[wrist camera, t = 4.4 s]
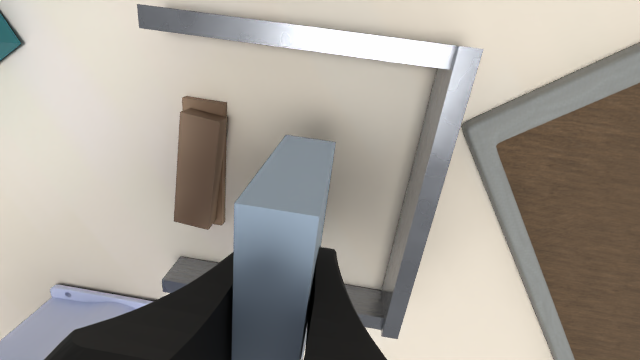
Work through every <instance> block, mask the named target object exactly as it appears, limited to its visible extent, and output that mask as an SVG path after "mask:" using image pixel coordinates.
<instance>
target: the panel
mask: <svg viewBox="0 0 640 360" xmlns="http://www.w3.org/2000/svg"><path fill="white" fill-rule="evenodd" d="M335 144H336V142H331V141H324V140H317V139H311V138H304V137H297V136H290V135H286V136H285V137H284V138H283V140H282V141H281V142H280V143H279V145H278V146H277V147H276V149H275V150H274V151H273V153H272V154H271V155H270V157H269V158H268V159H267V161H266V162H265V163H264V165H263V166H262V167H261V169H260V170H259V171H258V173H257V174H256V175H255V177H254V178H253V179H252V181H251V182H250V183H249V185H248V186H247V187H246V189H245V190H244V191H243V193H242V194H241V195H240V197H239V198H238V199H237V201H236V202H235V205H234V257H233V310H232V360H303V356H304V350H305V344H306V335H307V322H308V315H309V308H310V301H311V294H312V287H313V280H314V273H315V266H316V260H317V255H318V250H319V247H321V240H322V233H323V226H324V220H325V213H326V206H327V199H328V192H329V185H330V178H331V171H332V165H333V158H334V151H335Z"/></svg>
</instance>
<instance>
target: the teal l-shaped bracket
mask: <svg viewBox="0 0 640 360" xmlns="http://www.w3.org/2000/svg"><path fill="white" fill-rule="evenodd" d="M20 44H21V42H20V41H19V40H18V38H17V37H16V35H15V34H14V32H13V31H12V29H11V28H10V26H9V25H8V23H7V22H6V20H5V19H4V17H3V16H2V15H1V13H0V60H1V59H3V58H4V57H5V56H7V55H8V54H9V53H10V52H12V51H13V50H14V49H15V48H17V47H18V46H19V45H20Z"/></svg>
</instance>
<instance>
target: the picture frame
mask: <svg viewBox="0 0 640 360" xmlns="http://www.w3.org/2000/svg"><path fill="white" fill-rule="evenodd" d="M462 130H463V133H464V136H465V138H466V141H467V144H468V146H469V149H470V151H471V154H472V156H473V159H474V161H475V164H476V166H477V169H478V171H479V174H480V176H481V179H482V181H483V184H484V186H485V189H486V191H487V194H488V196H489V199H490V201H491V204H492V206H493V209H494V211H495V214H496V216H497V219H498V221H499V224H500V226H501V229H502V231H503V234H504V236H505V239H506V241H507V244H508V246H509V249H510V251H511V254H512V256H513V259H514V261H515V264H516V266H517V269H518V271H519V274H520V276H521V279H522V281H523V284H524V286H525V289H526V291H527V294H528V296H529V299H530V301H531V304H532V306H533V309H534V311H535V314H536V316H537V319H538V321H539V324H540V326H541V329H542V331H543V334H544V336H545V339H546V341H547V344H548V346H549V349H550V351H551V354H552V356H553V359H554V360H640V42H639V43H637V44H635V45H633V46H630V47H628V48H626V49H624V50H622V51H619V52H617V53H615V54H613V55H611V56H608V57H606V58H604V59H602V60H600V61H597V62H595V63H593V64H591V65H589V66H586V67H584V68H582V69H580V70H578V71H575V72H573V73H571V74H569V75H567V76H564V77H562V78H560V79H558V80H556V81H553V82H551V83H549V84H547V85H545V86H543V87H540V88H538V89H536V90H534V91H532V92H529V93H527V94H525V95H523V96H521V97H518V98H516V99H514V100H512V101H510V102H507V103H505V104H503V105H501V106H499V107H496V108H494V109H492V110H490V111H488V112H485V113H483V114H481V115H479V116H477V117H474V118H472V119H470V120H468V121H466V122H465V123H463V124H462Z"/></svg>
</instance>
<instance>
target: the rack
mask: <svg viewBox="0 0 640 360" xmlns="http://www.w3.org/2000/svg"><path fill="white" fill-rule="evenodd" d="M137 8H138V19H139V28H144V29H151V30H158V31H166V32H173V33H181V34H188V35H196V36H203V37H210V38H218V39H225V40H233V41H240V42H248V43H255V44H263V45H270V46H277V47H285V48H292V49H300V50H307V51H315V52H322V53H329V54H337V55H344V56H352V57H359V58H367V59H374V60H382V61H389V62H396V63H404V64H411V65H419V66H426V67H434V68H437V71H436V75H435V79H434V83H433V87H432V91H431V95H430V99H429V103H428V107H427V111H426V115H425V119H424V123H423V127H422V131H421V135H420V139H419V143H418V147H417V151H416V155H415V159H414V163H413V167H412V171H411V175H410V179H409V183H408V187H407V191H406V195H405V199H404V203H403V207H402V211H401V215H400V219H399V223H398V227H397V231H396V235H395V239H394V243H393V247H392V251H391V255H390V259H389V263H388V267H387V271H386V275H385V279H384V283H383V287H382V291H381V290H375V289H369V288H363V287H357V286H351V285H345V284H344V285H345V288H346V290H347V293H348V295H349V298H350V300H351V302H352V304H353V306H354V308H355V310H356V312H357V314H358V316H359V318H360V320H361V322H362V323H363V325H364V327H368V328H374V329H379V330H381V336H383V337H389V338H394V339H398V335H399V332H400V329H401V325H402V322H403V319H404V315H405V312H406V308H407V305H408V302H409V298H410V295H411V292H412V288H413V285H414V281H415V278H416V275H417V271H418V268H419V265H420V261H421V258H422V255H423V251H424V248H425V244H426V241H427V238H428V234H429V231H430V228H431V224H432V221H433V217H434V214H435V211H436V207H437V204H438V201H439V197H440V194H441V190H442V187H443V184H444V180H445V177H446V174H447V170H448V167H449V164H450V160H451V157H452V153H453V150H454V147H455V143H456V140H457V137H458V133H459V130H460V126H461V123H462V120H463V116H464V113H465V110H466V106H467V103H468V100H469V96H470V93H471V89H472V86H473V83H474V79H475V76H476V73H477V69H478V66H479V62H480V59H481V56H482V52H483V49H478V48H471V47H463V46H454V45H446V44H439V43H431V42H423V41H416V40H408V39H400V38H393V37H385V36H377V35H370V34H362V33H354V32H347V31H339V30H332V29H324V28H316V27H309V26H301V25H293V24H286V23H278V22H270V21H263V20H255V19H247V18H240V17H232V16H224V15H217V14H209V13H202V12H194V11H186V10H179V9H171V8H163V7H156V6H148V5H140V4H137ZM217 264H218V263H216V262H210V261H204V260H198V259H192V258H186V257H180V258H179V259H178V261H177V262H176V263H175V264H174V265H173V267H172V268H171V269H170V270H169V272H168V273H167V274H166V275H165V276H164V278H163V279H162V287H163V292H168V293H172V292H174V291H176V290H178V289H180V288H182V287H183V286H185V285H187V284H189V283H190V282H192V281H194V280H195V279H197V278H198V277H200V276H201V275H203V274H204V273H206V272H207V271H209V270H210V269H212V268H213V267H214V266H216V265H217Z"/></svg>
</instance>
